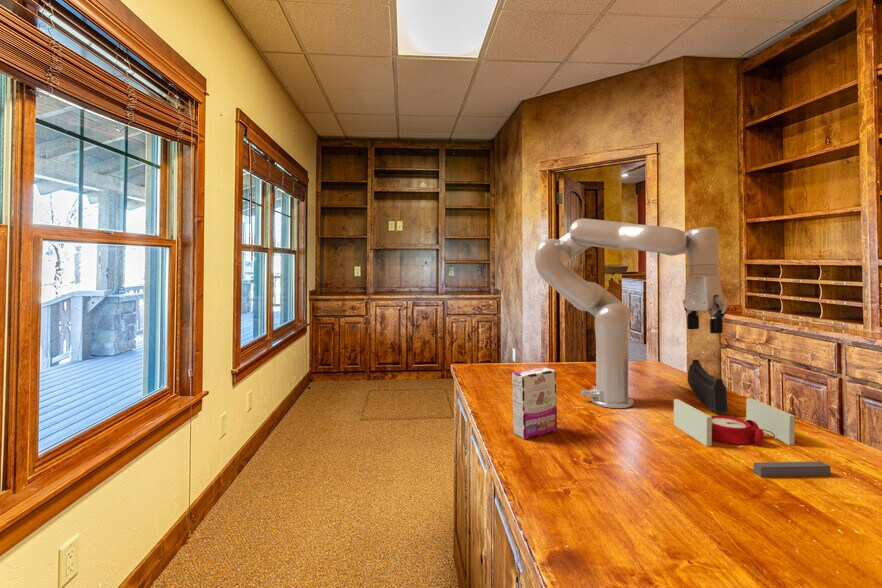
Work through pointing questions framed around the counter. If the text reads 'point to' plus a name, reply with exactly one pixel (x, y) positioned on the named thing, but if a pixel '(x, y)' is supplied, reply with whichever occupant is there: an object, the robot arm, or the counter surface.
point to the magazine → (707, 388)
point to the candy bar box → (534, 402)
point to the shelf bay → (756, 411)
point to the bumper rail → (791, 469)
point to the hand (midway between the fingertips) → (704, 331)
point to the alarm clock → (736, 431)
